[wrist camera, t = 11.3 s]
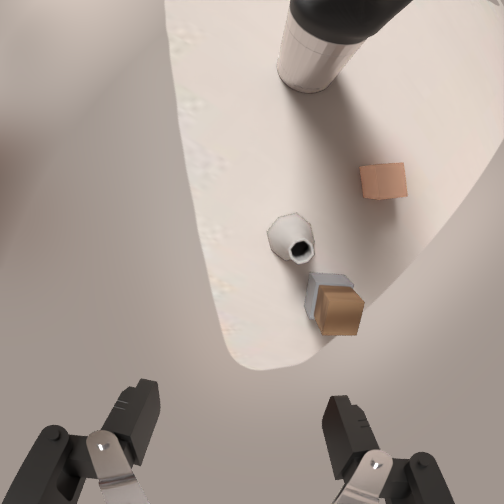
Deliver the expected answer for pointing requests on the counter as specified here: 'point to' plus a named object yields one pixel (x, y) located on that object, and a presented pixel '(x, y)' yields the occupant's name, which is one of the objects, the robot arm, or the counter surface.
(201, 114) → the counter surface
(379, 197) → the terracotta cube
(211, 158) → the counter surface
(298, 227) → the flask
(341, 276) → the grey base block
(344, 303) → the walnut cube
